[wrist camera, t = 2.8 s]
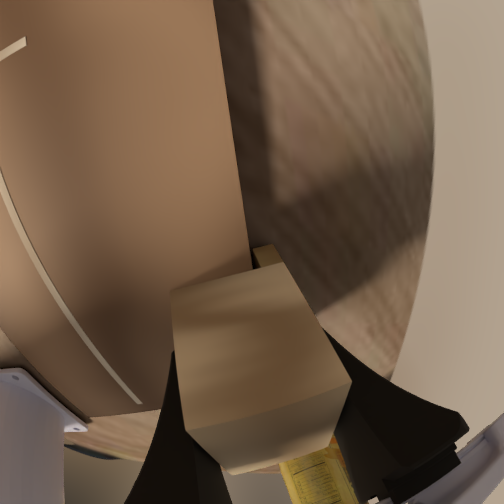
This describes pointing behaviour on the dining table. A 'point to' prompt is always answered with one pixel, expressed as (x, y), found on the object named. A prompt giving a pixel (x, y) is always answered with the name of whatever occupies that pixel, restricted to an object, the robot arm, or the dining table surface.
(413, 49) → the dining table surface
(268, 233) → the dining table surface
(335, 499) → the sauce bottle
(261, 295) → the light wooden block
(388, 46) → the dining table surface
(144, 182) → the walnut board
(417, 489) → the robot arm
